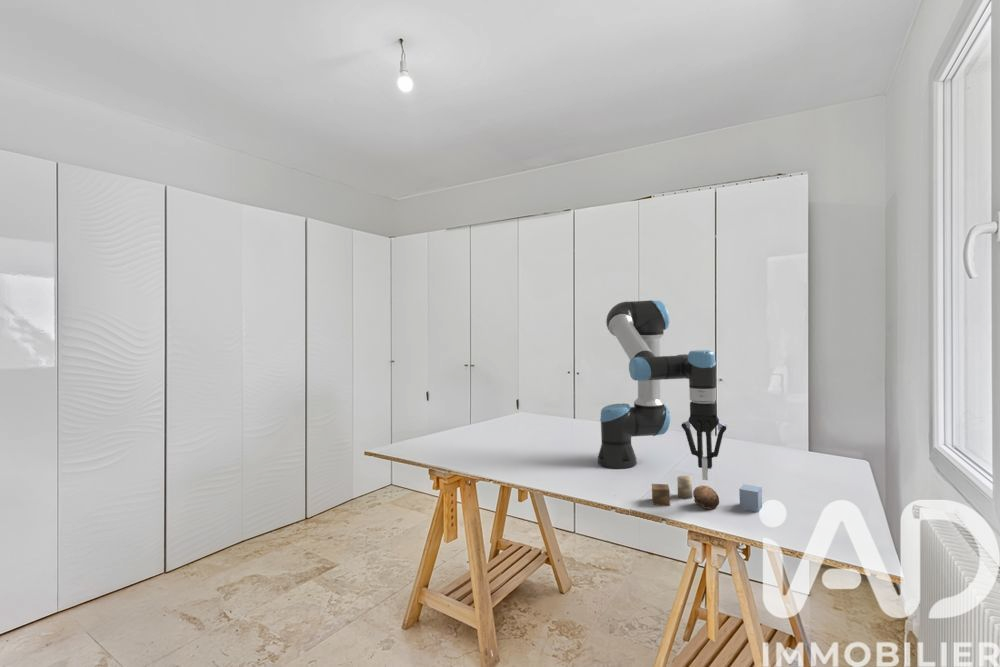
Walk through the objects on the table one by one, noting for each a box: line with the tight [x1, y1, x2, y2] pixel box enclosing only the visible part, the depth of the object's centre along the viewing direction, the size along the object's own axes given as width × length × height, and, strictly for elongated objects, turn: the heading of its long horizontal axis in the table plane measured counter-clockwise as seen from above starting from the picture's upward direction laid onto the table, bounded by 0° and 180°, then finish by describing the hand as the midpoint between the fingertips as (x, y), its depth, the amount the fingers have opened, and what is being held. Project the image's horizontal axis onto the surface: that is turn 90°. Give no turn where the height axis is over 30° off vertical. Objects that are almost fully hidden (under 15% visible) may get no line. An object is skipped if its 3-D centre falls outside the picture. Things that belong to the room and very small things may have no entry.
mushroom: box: [692, 484, 720, 510], centre depth 148 cm, size 8×8×6 cm
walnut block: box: [651, 483, 671, 507], centre depth 152 cm, size 5×5×5 cm
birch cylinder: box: [676, 475, 694, 500], centre depth 156 cm, size 4×4×6 cm
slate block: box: [738, 483, 763, 513], centre depth 145 cm, size 5×5×6 cm
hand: (705, 478), depth 147 cm, fingers closed
